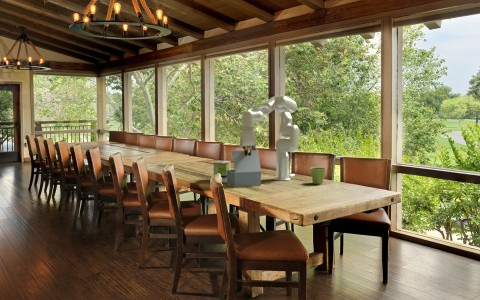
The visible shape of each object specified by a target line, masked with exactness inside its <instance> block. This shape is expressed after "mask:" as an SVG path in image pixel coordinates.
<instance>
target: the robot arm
mask: <svg viewBox="0 0 480 300" xmlns="http://www.w3.org/2000/svg"><path fill="white" fill-rule="evenodd" d="M274 110H277V112H278V114H279V117H280V123H279V131H278V133H279V136H280V137H284V138H278V139H277V140H276V141H275V150H276V151H275V152H276V167H275V168H276V171H275V173H276V176H275V177H274V178H273V179H274V180H275V181H290V180H291V177H295V174H294V173H290V155H289V152H290V153H291V152H296V151H297V149H298V148H299V147H298V146H299V139H300V128H299V126H298V125H296V124H292V123H293V122H292V121H293V117H292V115H291V114H290V113H295V112H296V111H297V110H298V104H297V102H296V101H294V100H293V99H292V98H290V97H289V96H285V95H274V96H272V97H270V98H269V99H268V100H266V101H265V102H263V103H260V104H258V105H254V106H253V107H250V108H249V109H247V110H246V111H243V112H242V130H241V132H240V138H239V148H242V149H243V151H244V150H245V156H248V155H249V156H251V150H253V149H254V148H255V147H256V146H257V145H256V134H255V131H254V130H255V129H256V127H255V126H254V122H255V123H257V122H259V123H260V122H261V121H263V119H264V115H269V114H270V113H272V112H273V111H274ZM247 147H249V148H250V153H249V154H248V150H247Z"/></svg>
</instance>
